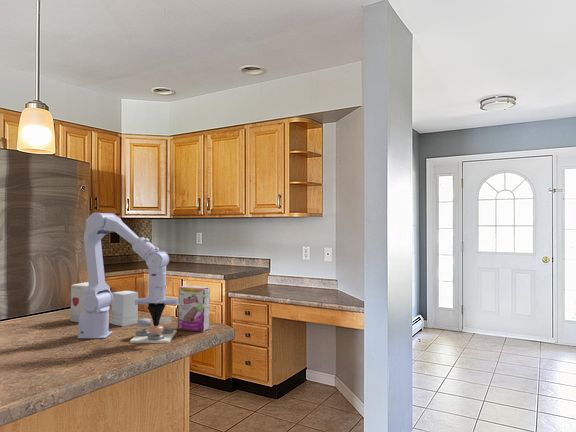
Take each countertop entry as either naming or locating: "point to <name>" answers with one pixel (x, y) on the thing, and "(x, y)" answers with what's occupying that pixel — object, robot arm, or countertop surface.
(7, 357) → the countertop surface
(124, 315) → the supplement box
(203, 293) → the candy bar box
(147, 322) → the slate button
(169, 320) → the cream button
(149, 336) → the panel
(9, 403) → the countertop surface
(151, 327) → the terracotta button
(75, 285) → the supplement box
